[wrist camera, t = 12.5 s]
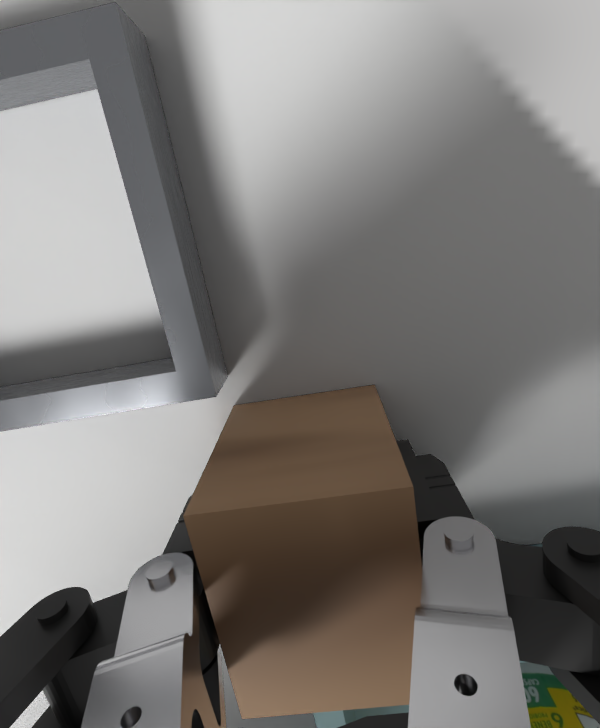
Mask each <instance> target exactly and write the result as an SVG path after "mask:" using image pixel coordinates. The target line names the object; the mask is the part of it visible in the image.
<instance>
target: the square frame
mask: <svg viewBox="0 0 600 728" xmlns="http://www.w3.org/2000/svg"><path fill="white" fill-rule="evenodd" d="M94 89H98V92H99V96H100V99H101V103H102V107H103V110H104V114H105V117H106V121H107V125H108V128H109V132H110V135H111V139H112V143H113V146H114V150H115V153H116V157H117V161H118V164H119V168H120V171H121V175H122V179H123V182H124V186H125V189H126V193H127V196H128V200H129V204H130V207H131V211H132V214H133V218H134V222H135V225H136V229H137V232H138V236H139V240H140V243H141V247H142V250H143V254H144V258H145V261H146V265H147V268H148V272H149V276H150V279H151V283H152V286H153V290H154V294H155V297H156V301H157V304H158V308H159V312H160V315H161V319H162V322H163V326H164V330H165V333H166V337H167V340H168V344H169V347H170V351H171V355H172V358H168V359H162V360H156V361H150V362H145V363H139V364H133V365H127V366H121V367H115V368H109V369H103V370H98V371H92V372H86V373H80V374H74V375H68V376H62V377H56V378H51V379H45V380H39V381H33V382H27V383H21V384H15V385H9V386H4V387H0V431H6V430H12V429H19V428H25V427H31V426H37V425H44V424H50V423H56V422H62V421H68V420H75V419H81V418H87V417H93V416H99V415H106V414H112V413H118V412H124V411H131V410H137V409H143V408H149V407H155V406H162V405H168V404H174V403H180V402H186V401H193V400H199V399H205V398H211V397H216V396H217V394H218V393H219V391H220V389H221V387H222V386H223V384H224V382H225V381H226V379H227V377H228V376H227V372H226V368H225V363H224V359H223V355H222V351H221V347H220V343H219V339H218V335H217V331H216V326H215V322H214V318H213V314H212V310H211V306H210V302H209V298H208V294H207V289H206V285H205V281H204V277H203V273H202V269H201V265H200V261H199V257H198V252H197V248H196V244H195V240H194V236H193V232H192V228H191V224H190V220H189V215H188V211H187V207H186V203H185V199H184V195H183V191H182V187H181V183H180V178H179V174H178V170H177V166H176V162H175V158H174V154H173V150H172V145H171V141H170V137H169V133H168V129H167V125H166V121H165V117H164V113H163V108H162V104H161V100H160V96H159V92H158V88H157V84H156V80H155V76H154V71H153V67H152V63H151V59H150V55H149V51H148V47H147V43H146V39H145V35H144V34H143V33H142V32H141V30H140V29H139V28H138V27H137V26H136V25H135V24H134V23H133V21H132V20H131V19H130V18H129V17H128V16H127V15H126V14H125V12H124V11H123V10H122V9H121V8H120V7H119V6H118V4H117V3H116V2H114V3H110V4H106V5H102V6H98V7H93V8H89V9H85V10H81V11H77V12H73V13H69V14H65V15H61V16H57V17H53V18H49V19H45V20H40V21H36V22H32V23H28V24H24V25H20V26H16V27H12V28H8V29H4V30H0V111H2V110H6V109H10V108H15V107H19V106H24V105H28V104H32V103H37V102H41V101H45V100H50V99H54V98H59V97H63V96H67V95H72V94H76V93H81V92H85V91H89V90H94Z"/></svg>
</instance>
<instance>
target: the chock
mask: <svg viewBox="0 0 600 728" xmlns="http://www.w3.org/2000/svg"><path fill="white" fill-rule="evenodd" d="M183 518H184V521H185V524H186V528H187V531H188V535H189V538H190V542H191V545H192V549H193V552H194V555H195V559H196V562H197V566H198V569H199V573H200V576H201V579H202V583H203V586H204V590H205V593H206V597H207V600H208V604H209V607H210V610H211V614H212V617H213V621H214V624H215V628H216V631H217V635H218V638H219V641H220V645H221V648H222V652H223V655H224V659H225V662H226V666H227V669H228V672H229V676H230V679H231V683H232V686H233V690H234V693H235V696H236V700H237V703H238V707H239V710H240V714H241V717H242V719H249V718H261V717H272V716H284V715H295V714H307V713H318V712H330V711H341V710H353V709H364V708H376V707H387V706H399V705H409V701H410V685H411V669H412V653H413V637H414V621H415V611H416V607H420V605H421V585H422V562H421V552H420V543H419V534H418V525H417V516H416V507H415V498H414V488H413V484H412V482H411V479H410V477H409V474H408V471H407V469H406V466H405V463H404V461H403V458H402V455H401V453H400V450H399V448H398V445H397V442H396V440H395V437H394V434H393V432H392V429H391V426H390V424H389V421H388V419H387V416H386V413H385V411H384V408H383V405H382V403H381V400H380V397H379V395H378V392H377V390H376V387H375V385H369V386H362V387H355V388H349V389H342V390H335V391H328V392H321V393H315V394H308V395H301V396H294V397H288V398H281V399H274V400H267V401H260V402H254V403H247V404H240V405H234V406H233V409H232V411H231V413H230V415H229V417H228V419H227V422H226V424H225V426H224V428H223V430H222V432H221V435H220V437H219V439H218V441H217V443H216V445H215V448H214V450H213V452H212V454H211V456H210V458H209V461H208V463H207V465H206V467H205V469H204V471H203V474H202V476H201V478H200V480H199V482H198V485H197V487H196V489H195V491H194V493H193V495H192V498H191V500H190V502H189V504H188V506H187V508H186V511H185V513H184V515H183Z"/></svg>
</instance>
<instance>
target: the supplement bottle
mask: <svg viewBox="0 0 600 728" xmlns="http://www.w3.org/2000/svg"><path fill="white" fill-rule="evenodd" d="M520 667H521V673H522V679H523V685H524V691H525V696H526V702H527V708H528V714H529V719H530V725H531V728H600V724H599V723H598V722H597V721H596V720H595V719H594V718H593V717H592V716H591V715H590V714H589V712H588V711H587V710H586V709H585V708H584V707H583V706H582V705H581V704H580V703H579V702H578V701H577V699H576V698H575V697H574V696H573V695H572V694H571V693H570V692H569V691H568V690H567V689H566V688H565V686H564V685H563V684H562V683H561V682H560V681H559V680H558V679H557V678H556V677H555V675H554V674H553V673H552V672H551V670H550V668H549V667H548V666H544V665H539V664H534V663H529V662H524V663H520Z"/></svg>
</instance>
